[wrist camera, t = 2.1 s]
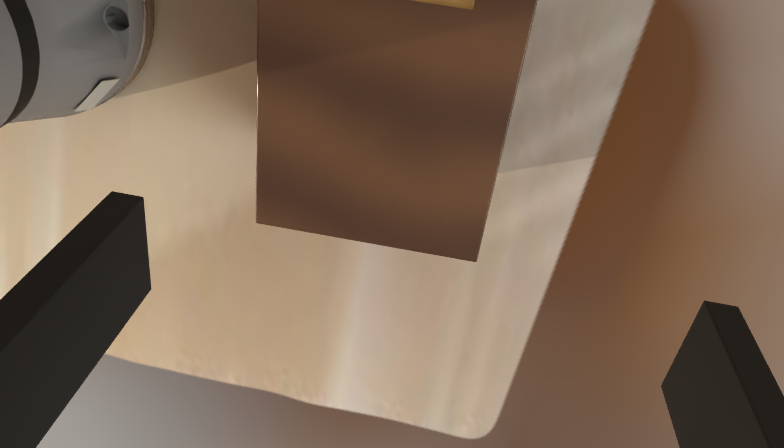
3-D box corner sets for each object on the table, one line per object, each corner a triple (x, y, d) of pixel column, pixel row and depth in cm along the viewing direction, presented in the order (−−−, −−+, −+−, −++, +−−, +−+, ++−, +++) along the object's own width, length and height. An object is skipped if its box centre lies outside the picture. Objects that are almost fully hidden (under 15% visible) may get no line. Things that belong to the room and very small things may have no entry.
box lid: (264, -136, 26) (207, -127, 21) (556, -92, 25) (572, -72, 20) (260, 215, 34) (219, 282, 29) (476, 254, 34) (473, 329, 29)
